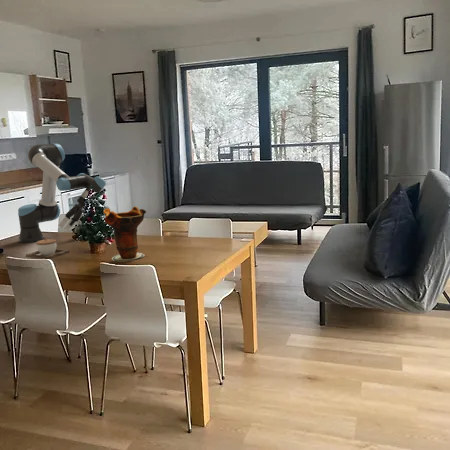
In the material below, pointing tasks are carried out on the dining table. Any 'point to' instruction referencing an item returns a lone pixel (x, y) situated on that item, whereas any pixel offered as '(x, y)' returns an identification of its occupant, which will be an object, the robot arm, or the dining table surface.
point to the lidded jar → (47, 246)
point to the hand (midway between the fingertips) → (63, 228)
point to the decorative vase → (125, 232)
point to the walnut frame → (49, 255)
